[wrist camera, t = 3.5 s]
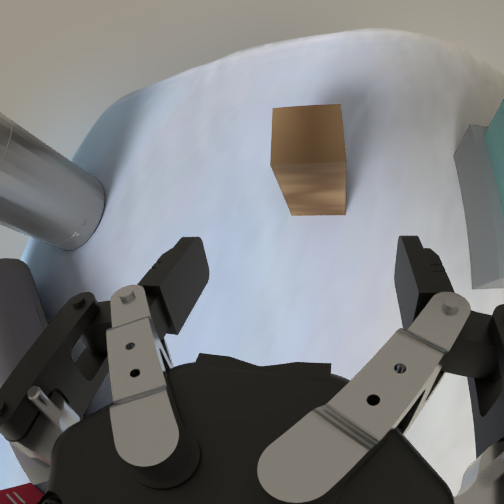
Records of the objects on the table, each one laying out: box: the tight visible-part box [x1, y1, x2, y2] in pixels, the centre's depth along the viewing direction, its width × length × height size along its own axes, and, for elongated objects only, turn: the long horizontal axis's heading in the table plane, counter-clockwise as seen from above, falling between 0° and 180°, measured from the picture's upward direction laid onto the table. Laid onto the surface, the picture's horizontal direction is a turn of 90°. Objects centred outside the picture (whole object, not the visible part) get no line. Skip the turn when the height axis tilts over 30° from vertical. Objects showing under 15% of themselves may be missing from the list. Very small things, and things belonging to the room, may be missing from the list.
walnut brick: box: [270, 104, 346, 216], centre depth 22 cm, size 4×4×8 cm
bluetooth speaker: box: [0, 258, 83, 485], centre depth 24 cm, size 23×9×10 cm, turn 33°
